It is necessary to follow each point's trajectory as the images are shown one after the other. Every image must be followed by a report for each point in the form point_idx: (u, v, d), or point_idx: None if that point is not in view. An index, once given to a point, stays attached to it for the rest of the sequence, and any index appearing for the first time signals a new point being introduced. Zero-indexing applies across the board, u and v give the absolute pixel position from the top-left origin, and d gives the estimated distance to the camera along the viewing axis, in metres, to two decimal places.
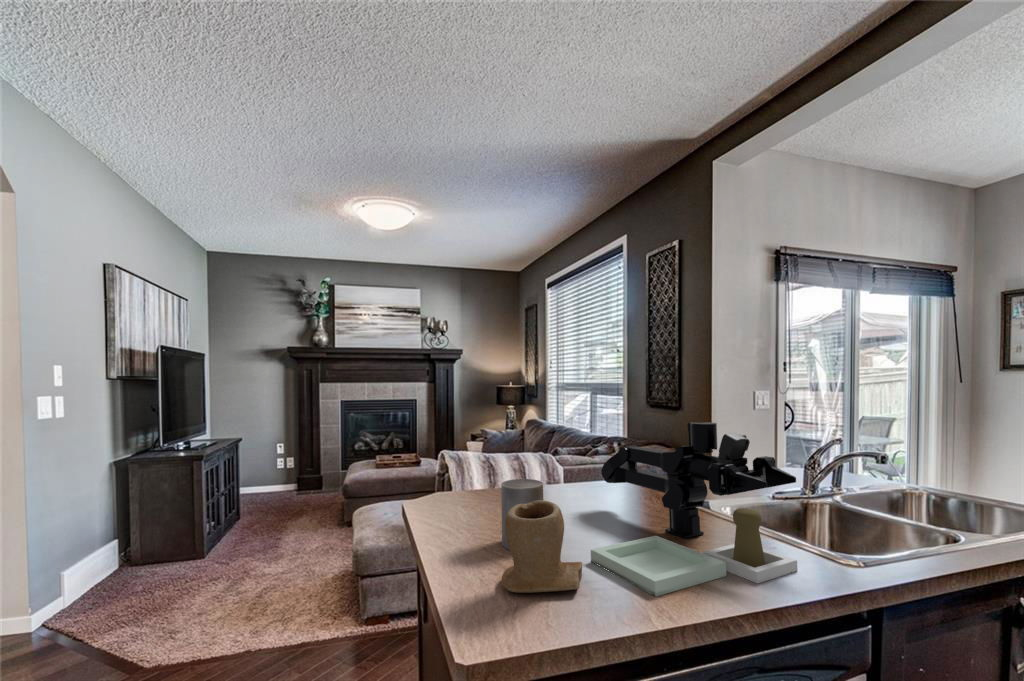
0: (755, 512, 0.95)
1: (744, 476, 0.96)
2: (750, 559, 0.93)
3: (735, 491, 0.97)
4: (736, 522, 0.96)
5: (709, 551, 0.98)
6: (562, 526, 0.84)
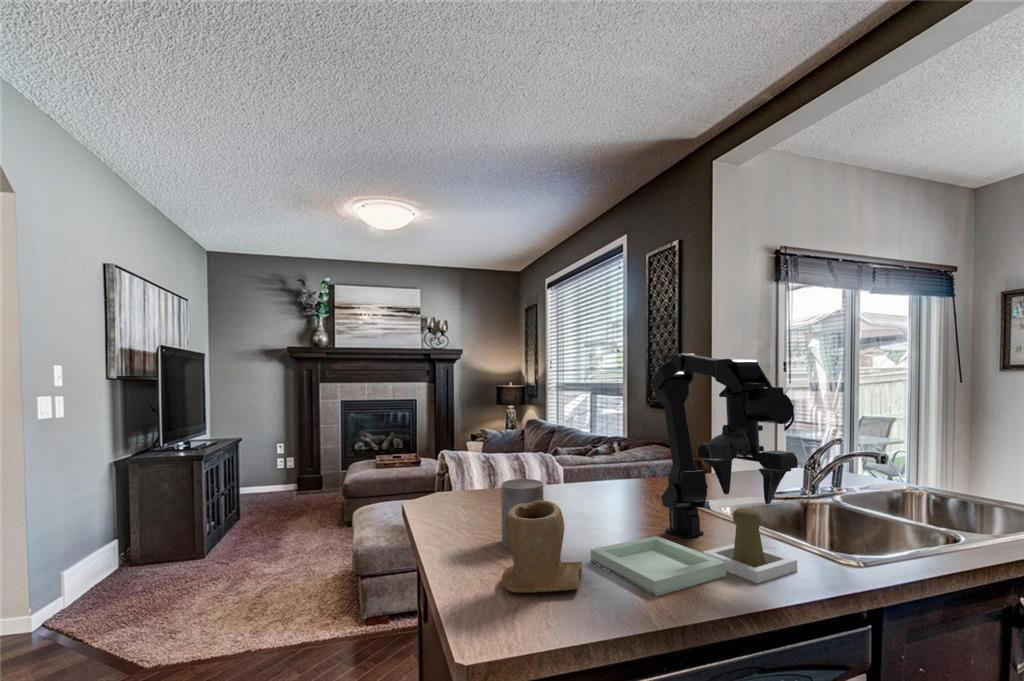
0: (755, 512, 0.95)
1: (717, 475, 1.02)
2: (750, 559, 0.93)
3: None
4: (736, 522, 0.96)
5: (709, 551, 0.98)
6: (562, 526, 0.84)
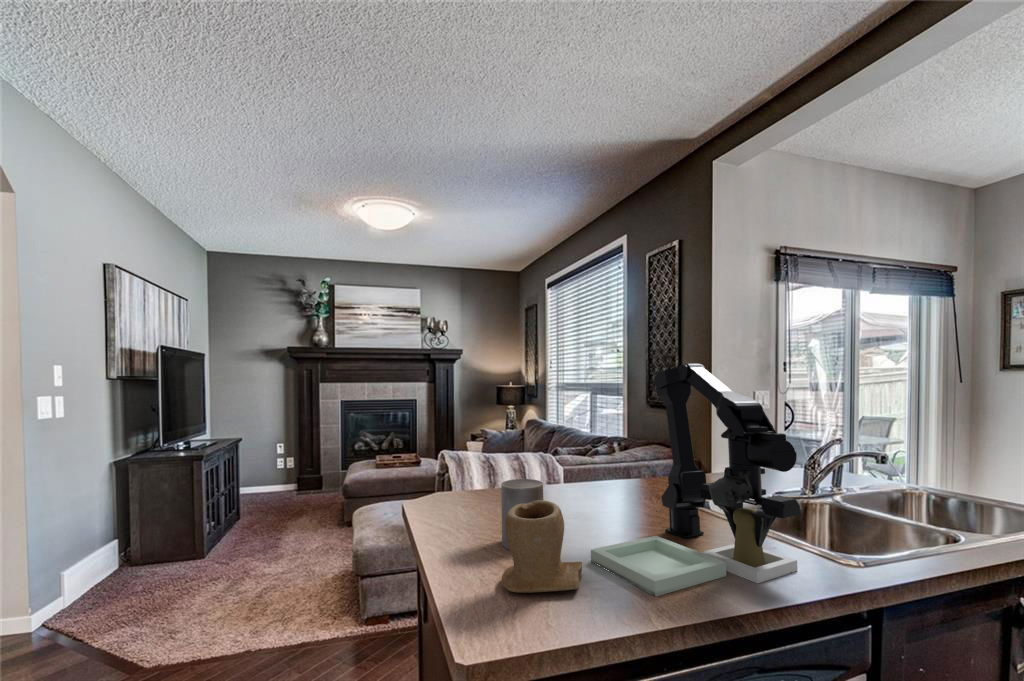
0: None
1: None
2: (750, 559, 0.93)
3: None
4: (736, 522, 0.96)
5: (709, 551, 0.98)
6: (562, 526, 0.84)
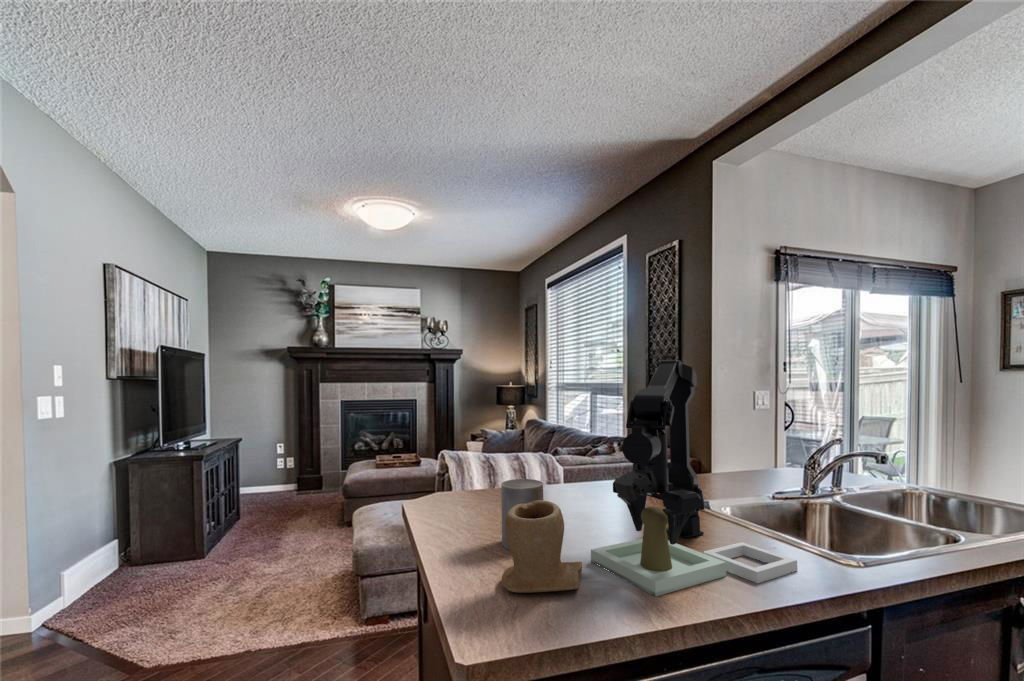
0: (661, 511, 0.94)
1: None
2: (654, 558, 0.92)
3: None
4: (643, 521, 0.95)
5: (709, 551, 0.98)
6: (562, 526, 0.84)
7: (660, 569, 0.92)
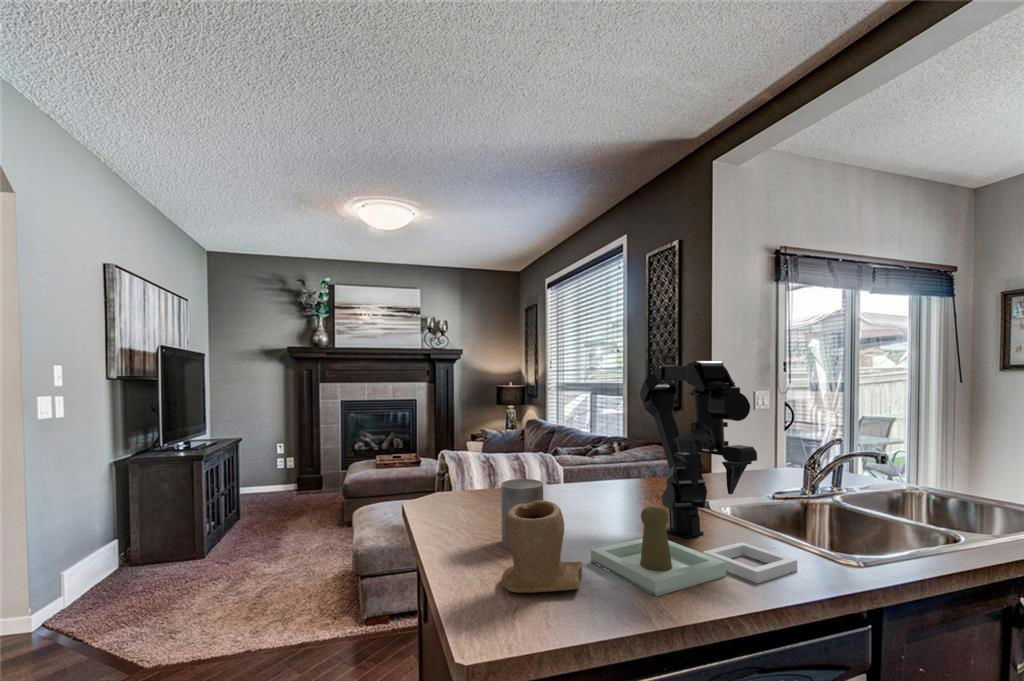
0: (661, 511, 0.94)
1: None
2: (654, 559, 0.92)
3: None
4: (643, 521, 0.95)
5: (709, 551, 0.98)
6: (562, 526, 0.84)
7: (660, 569, 0.92)
